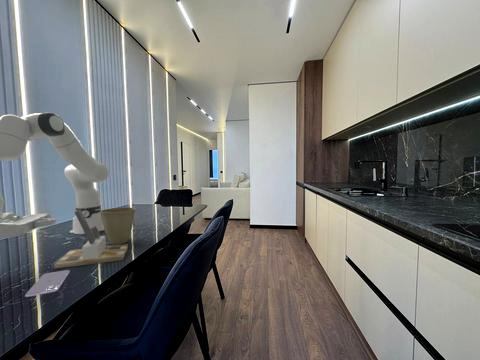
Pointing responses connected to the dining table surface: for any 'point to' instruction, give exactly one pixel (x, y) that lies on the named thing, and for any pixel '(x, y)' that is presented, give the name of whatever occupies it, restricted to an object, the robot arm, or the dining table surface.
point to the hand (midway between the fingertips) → (53, 221)
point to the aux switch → (95, 232)
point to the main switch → (85, 226)
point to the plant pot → (118, 224)
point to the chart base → (77, 259)
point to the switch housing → (94, 248)
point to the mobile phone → (48, 283)
